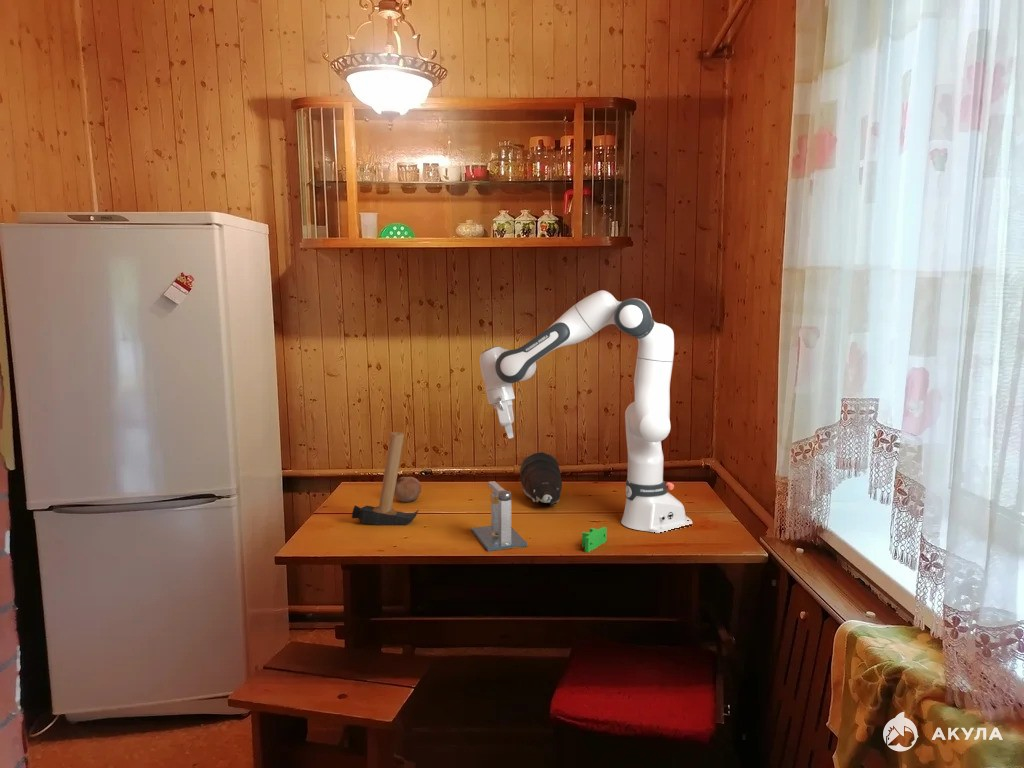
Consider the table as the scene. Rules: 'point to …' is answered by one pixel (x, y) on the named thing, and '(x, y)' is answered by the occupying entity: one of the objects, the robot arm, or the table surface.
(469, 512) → the table surface
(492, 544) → the bolt hole plate
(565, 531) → the table surface
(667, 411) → the robot arm
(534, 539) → the table surface
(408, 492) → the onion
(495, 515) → the post
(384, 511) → the hammer
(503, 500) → the grey metal upright piece
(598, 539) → the pipe clamp
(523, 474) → the dark brown oval body
